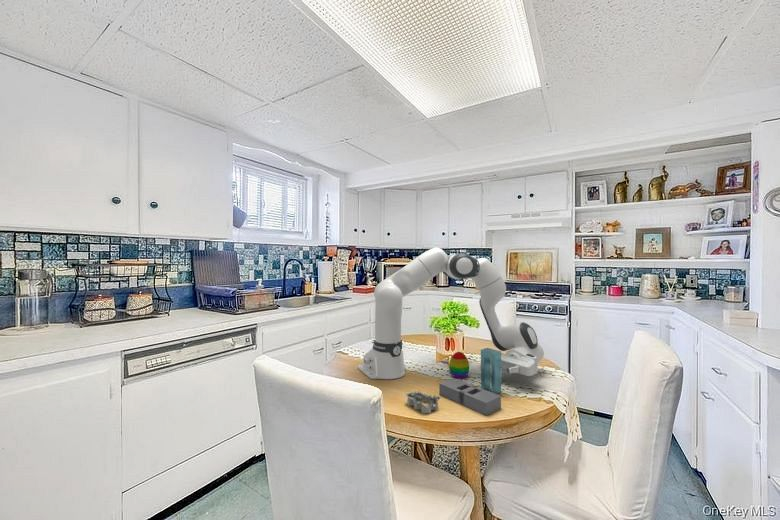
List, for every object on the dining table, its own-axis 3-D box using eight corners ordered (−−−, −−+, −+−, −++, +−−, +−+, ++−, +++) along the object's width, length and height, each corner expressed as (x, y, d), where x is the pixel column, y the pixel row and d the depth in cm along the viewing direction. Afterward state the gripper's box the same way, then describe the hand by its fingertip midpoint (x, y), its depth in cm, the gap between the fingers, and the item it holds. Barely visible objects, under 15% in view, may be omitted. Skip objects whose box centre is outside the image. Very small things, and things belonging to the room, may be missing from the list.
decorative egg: (469, 380, 131) (469, 355, 131) (448, 378, 133) (448, 354, 133) (469, 373, 139) (469, 349, 139) (449, 371, 141) (449, 348, 141)
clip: (480, 389, 123) (480, 349, 122) (487, 386, 125) (487, 347, 125) (494, 394, 118) (494, 353, 118) (501, 391, 120) (501, 351, 120)
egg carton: (441, 409, 108) (441, 397, 108) (424, 416, 104) (424, 403, 104) (420, 397, 117) (420, 386, 117) (403, 403, 112) (403, 391, 112)
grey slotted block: (439, 394, 119) (439, 383, 119) (454, 388, 124) (454, 378, 124) (486, 415, 103) (486, 403, 103) (501, 407, 108) (500, 395, 108)
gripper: (494, 346, 141) (474, 352, 132) (541, 358, 125) (522, 366, 116) (494, 360, 141) (474, 367, 132) (541, 374, 125) (521, 383, 116)
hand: (497, 367), depth 124 cm, fingers open, 8 cm apart
